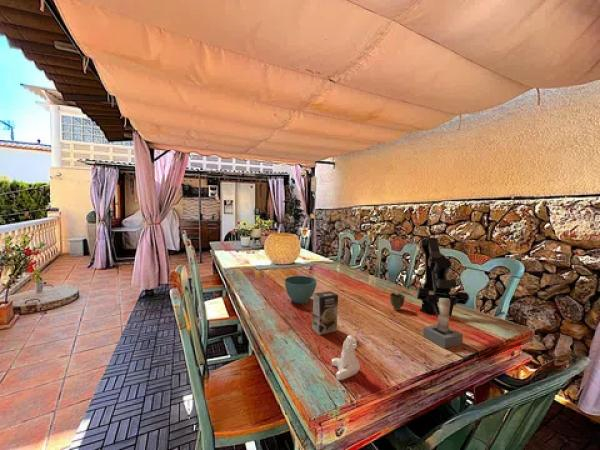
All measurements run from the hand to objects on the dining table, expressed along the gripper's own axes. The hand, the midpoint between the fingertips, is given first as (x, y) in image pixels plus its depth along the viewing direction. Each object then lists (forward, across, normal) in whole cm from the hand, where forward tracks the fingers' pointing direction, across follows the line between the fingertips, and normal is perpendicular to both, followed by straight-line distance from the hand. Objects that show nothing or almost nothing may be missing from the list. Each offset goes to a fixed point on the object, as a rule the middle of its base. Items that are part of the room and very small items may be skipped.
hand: (444, 315), depth 104 cm
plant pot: (-9, -68, +25) cm, 73 cm away
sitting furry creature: (+31, -35, -15) cm, 49 cm away
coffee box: (+13, -48, +3) cm, 49 cm away
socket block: (+7, 0, +9) cm, 11 cm away
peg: (+4, 0, +6) cm, 7 cm away
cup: (-13, -16, +30) cm, 36 cm away
